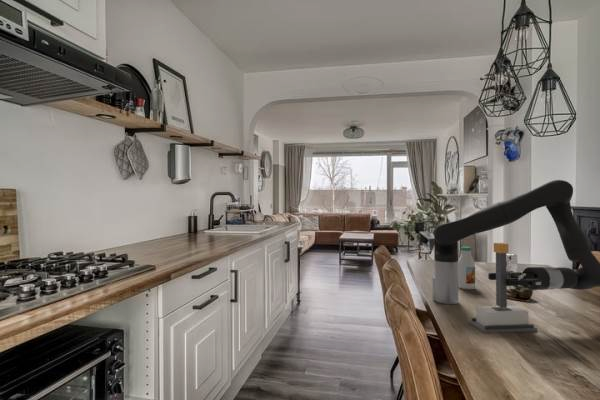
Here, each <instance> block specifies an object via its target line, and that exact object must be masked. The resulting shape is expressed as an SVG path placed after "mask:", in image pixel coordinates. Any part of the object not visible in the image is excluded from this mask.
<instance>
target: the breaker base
mask: <svg viewBox="0 0 600 400" xmlns="http://www.w3.org/2000/svg"><path fill="white" fill-rule="evenodd" d="M468 324H469V325H471V326H472V327H473V328H476V330H478V331H480V332H482V333H483V334H489V333H490V334H492V333H493V334H494V333H522V332H523V333H525V332H538V328H537V326H535V325H534V324H533V323H532V324H531V323H529V310H526V309H524V308H521V307H518V306H516V305H507V307H499V306H497V305H496V306H494V305H493V306H491V305H489V306H475V317H471V320H470V319H468Z"/></svg>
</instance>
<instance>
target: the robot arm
mask: <svg viewBox="0 0 600 400" xmlns="http://www.w3.org/2000/svg"><path fill="white" fill-rule="evenodd" d="M573 194H574V187H573V185H572V184H571V183H570V182H568V181H566V180H563V179H562V180H561V179H555V180H551V181H548V182H546V183H544V184H542V185H540V186H538V187H536V188H533V189H532V190H529V191H527V192H524V193H522V194H518V195H516V196H514V197H510V198H507V199H505V200H501V201H498V202H496V203H494V204H490V205H488V206H485V207H483V208H481V209H478V211H475V212H474V213H471V214H470V215H468V216H467V217H463V218H461V219H457V220H454V221H449V222H441V223H439V224H437V225H436V227H435V228H434V234H433V237H434V239H433V243H434V246H433V247H434V248H433V256H434V276H433V277H432V300H433V301H435V302H437V303H440V304H445V305H456V304H459V299H460V298H459V287H458V261H459V249H458V248H459V247H458V242H460V241H461V240H463V239H465V238H467V237H470V236H472V235H476V234H480V233H485V232H488V231H490V230H495V229H497V228H500V227H503V226H506V225H510V224H512V223H514V222H516V221H518V220H520V219H521V218H523V217H525V216H526V215H528V214H529V213H531V212H533V211H535V210H537V209H540V208H543V207H545V208H546V210H547V211H548V212H549V214H550V215H551V219H552V220H553V221H554V222H553V223H554V224H555V227H556V228H557V232H558V233H559V237H560V240H561V243H562V246H563V249H564V251H565V254H566V257H567V259H568V260H569V261H570V262H573V263H574V262H575V263H576V262H578V263H579V264H580V265H581V267H579V268H576V269H572V268H569V267H560V266H559V267H549V266H532V267H530V266H529V267H526V268H525V269H523V271H516V272H514V271H507V279H505V285H506V286H507V287H509V286H519V287H520V286H522V287H524V288H528V289H530V290H532V291H549V290H556V289H557V290H558V289H560V290H562V289H563V290H564V289H571V290H580V291H581V290H582V291H583V290H589V289H592V288H593V289H594V288H597V287H600V261H599V260H598V258H596V256H595V255H594V253H593V252H592V250H591V247H590V245H589V243H588V240H587V238H586V236H585V234H584V231H583V230H582V229H581V227H580V226H579V224H578V223H577V221H576V219H575V217H574V214H573V212H572V207H571V200H572V197H573ZM487 278H488V279H489V280H490V281H496V272H490V273H488V277H487Z"/></svg>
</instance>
